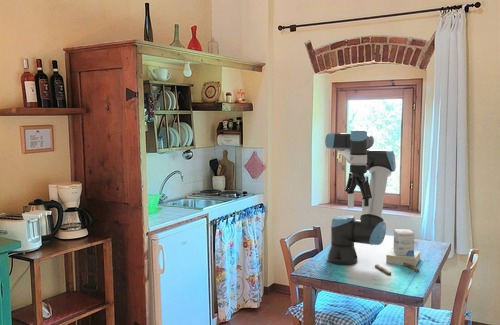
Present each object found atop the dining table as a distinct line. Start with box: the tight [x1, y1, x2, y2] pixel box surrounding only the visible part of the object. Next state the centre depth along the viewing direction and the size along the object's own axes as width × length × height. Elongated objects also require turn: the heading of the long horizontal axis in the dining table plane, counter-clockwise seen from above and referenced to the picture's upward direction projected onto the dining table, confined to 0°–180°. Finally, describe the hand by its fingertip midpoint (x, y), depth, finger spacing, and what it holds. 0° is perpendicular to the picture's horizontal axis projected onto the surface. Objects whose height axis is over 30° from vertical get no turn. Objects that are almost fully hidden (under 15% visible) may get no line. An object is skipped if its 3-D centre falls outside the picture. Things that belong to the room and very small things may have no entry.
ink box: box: [393, 228, 415, 255], centre depth 236 cm, size 9×8×12 cm
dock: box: [385, 247, 421, 267], centre depth 237 cm, size 14×14×4 cm
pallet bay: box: [374, 263, 420, 276], centre depth 224 cm, size 12×16×1 cm
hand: (357, 210), depth 210 cm, fingers open, 13 cm apart
